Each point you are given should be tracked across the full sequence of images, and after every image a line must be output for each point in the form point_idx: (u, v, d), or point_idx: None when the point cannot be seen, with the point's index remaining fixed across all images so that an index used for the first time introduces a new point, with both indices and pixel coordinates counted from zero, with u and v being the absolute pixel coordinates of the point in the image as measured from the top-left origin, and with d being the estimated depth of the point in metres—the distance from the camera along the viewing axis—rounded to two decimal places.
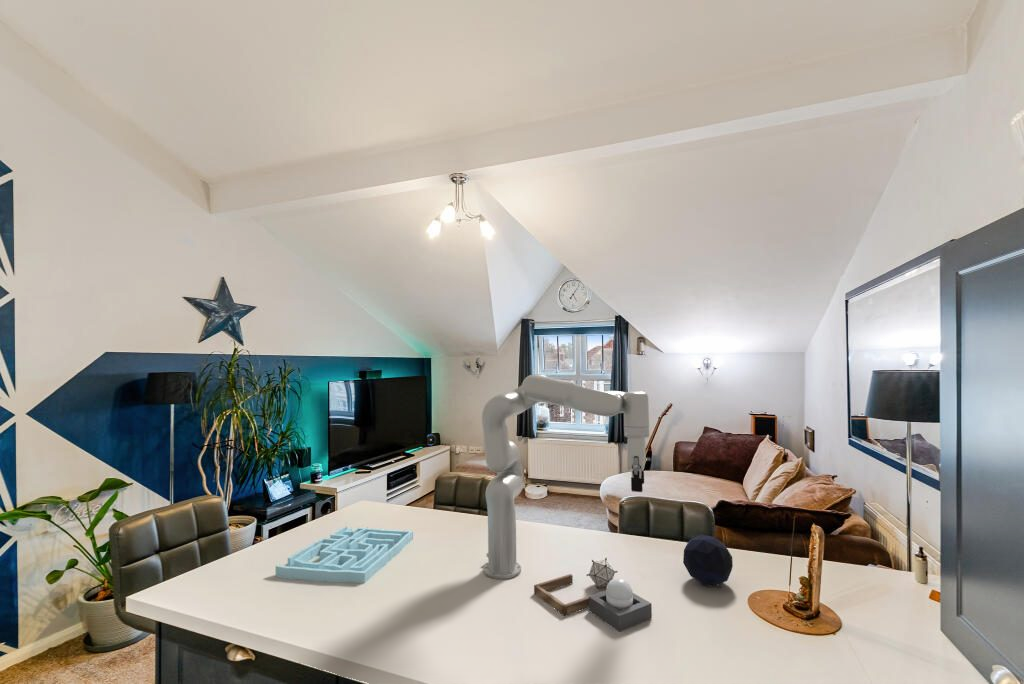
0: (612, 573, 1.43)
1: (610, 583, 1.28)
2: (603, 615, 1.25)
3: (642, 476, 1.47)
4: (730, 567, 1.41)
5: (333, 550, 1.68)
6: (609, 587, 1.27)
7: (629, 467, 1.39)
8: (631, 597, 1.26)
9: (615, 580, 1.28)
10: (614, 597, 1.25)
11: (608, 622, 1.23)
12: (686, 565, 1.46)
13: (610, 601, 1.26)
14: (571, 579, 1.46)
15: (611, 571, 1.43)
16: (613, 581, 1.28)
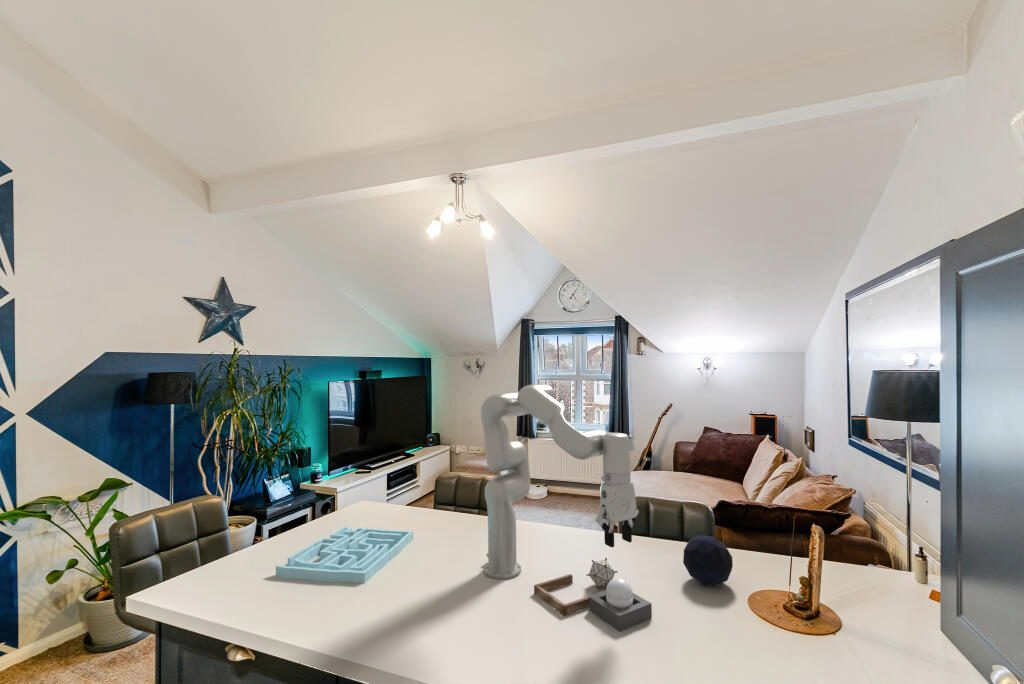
0: (612, 573, 1.43)
1: (610, 583, 1.28)
2: (603, 615, 1.25)
3: None
4: (730, 567, 1.41)
5: (333, 550, 1.68)
6: (609, 587, 1.27)
7: None
8: (631, 597, 1.26)
9: (615, 580, 1.28)
10: (614, 597, 1.25)
11: (608, 622, 1.23)
12: (686, 565, 1.46)
13: (610, 601, 1.26)
14: (571, 579, 1.46)
15: (611, 571, 1.43)
16: (613, 581, 1.28)
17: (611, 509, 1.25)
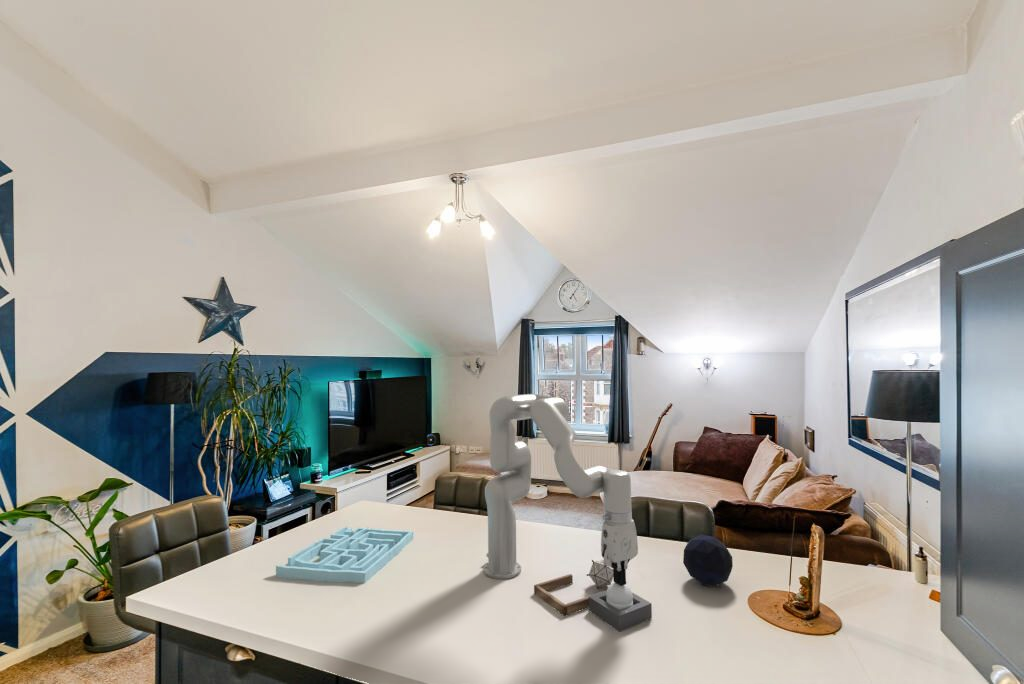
0: (612, 573, 1.43)
1: (610, 587, 1.28)
2: (603, 615, 1.25)
3: None
4: (730, 567, 1.41)
5: (333, 550, 1.68)
6: (609, 591, 1.27)
7: None
8: (631, 601, 1.26)
9: (615, 584, 1.28)
10: (614, 601, 1.25)
11: (608, 622, 1.23)
12: (686, 565, 1.46)
13: None
14: (571, 579, 1.46)
15: (611, 571, 1.43)
16: (613, 585, 1.28)
17: (612, 549, 1.24)
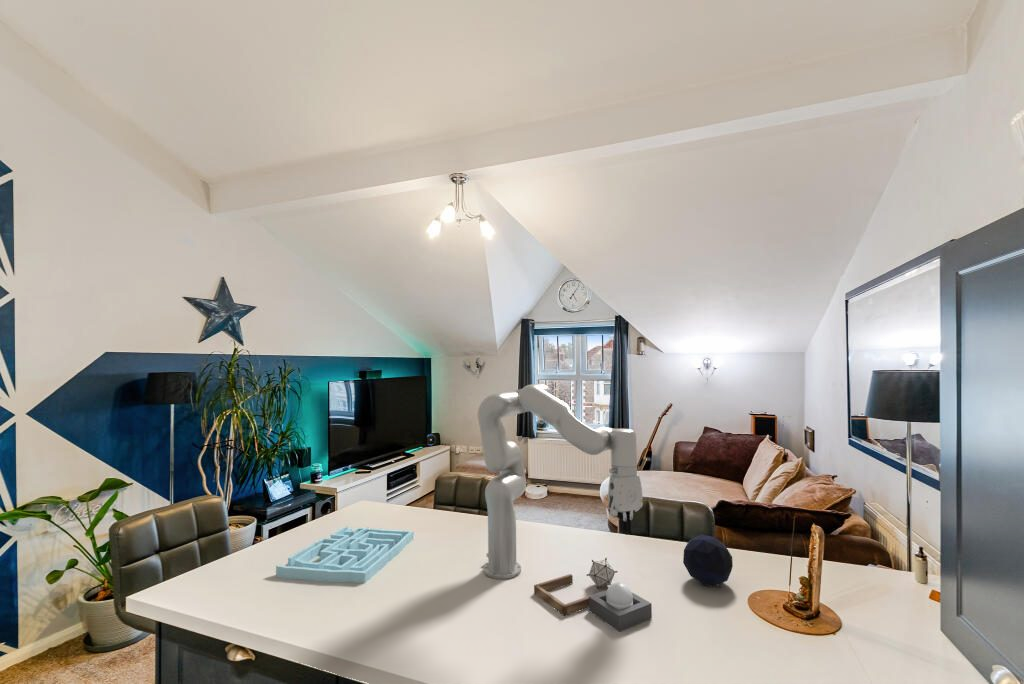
0: (612, 573, 1.43)
1: (610, 587, 1.28)
2: (603, 615, 1.25)
3: None
4: (730, 567, 1.41)
5: (333, 550, 1.68)
6: (609, 591, 1.27)
7: None
8: (631, 601, 1.26)
9: (615, 584, 1.28)
10: (614, 601, 1.25)
11: (608, 622, 1.23)
12: (686, 565, 1.46)
13: None
14: (571, 579, 1.46)
15: (611, 571, 1.43)
16: (613, 585, 1.28)
17: (618, 499, 1.34)
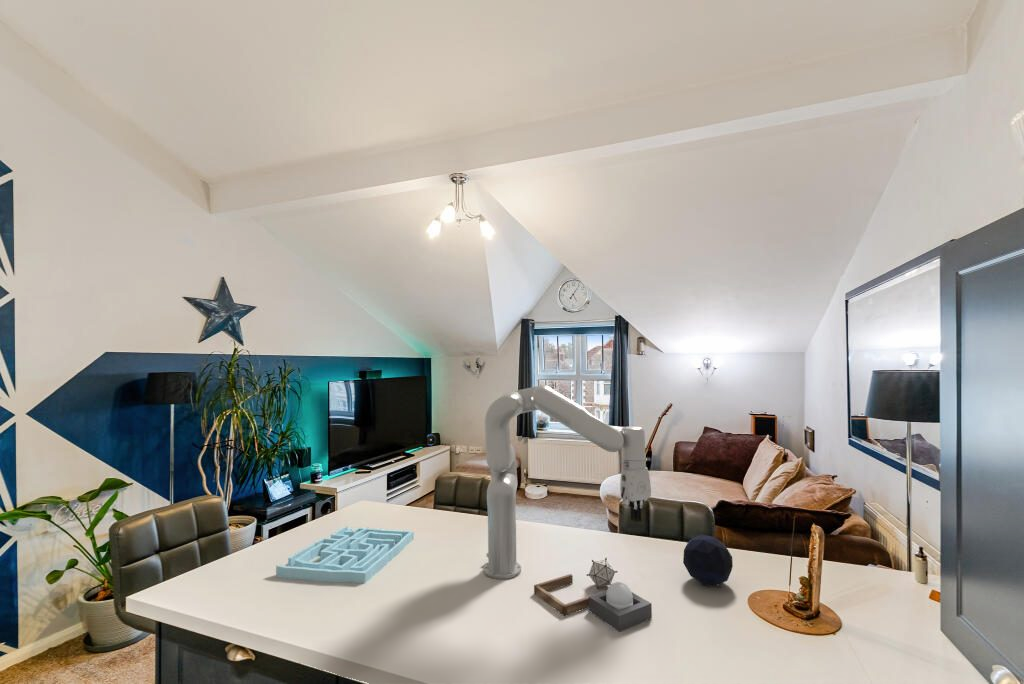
0: (612, 573, 1.43)
1: (610, 587, 1.28)
2: (603, 615, 1.25)
3: None
4: (730, 567, 1.41)
5: (334, 550, 1.68)
6: (609, 591, 1.27)
7: None
8: (631, 601, 1.26)
9: (615, 584, 1.28)
10: (614, 601, 1.25)
11: (608, 622, 1.23)
12: (686, 565, 1.46)
13: None
14: (571, 579, 1.46)
15: (611, 571, 1.43)
16: (613, 585, 1.28)
17: (630, 490, 1.49)
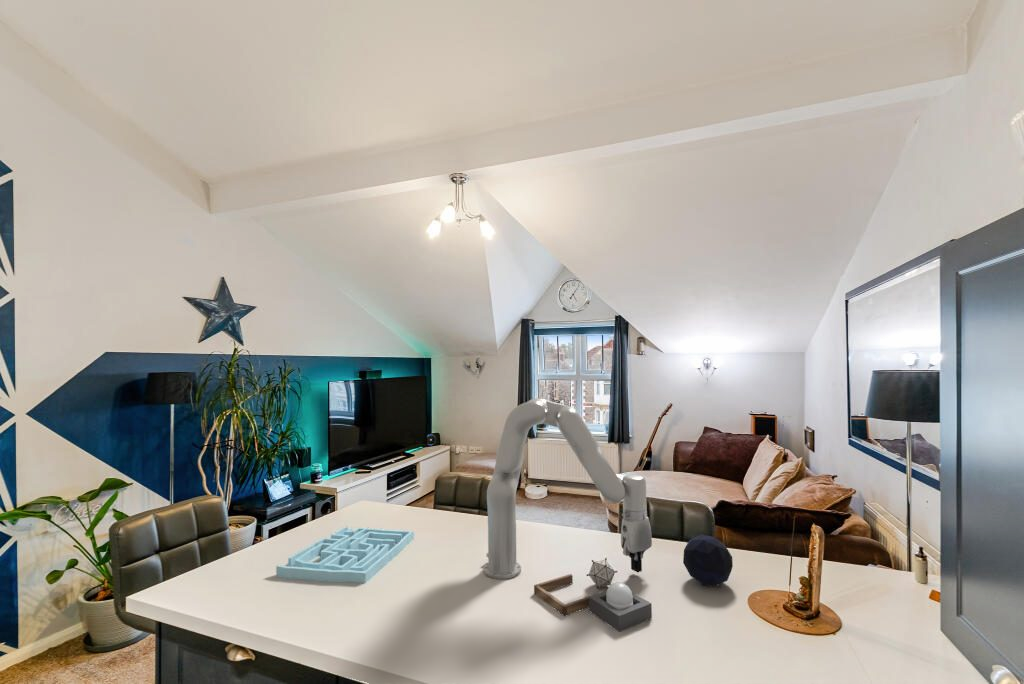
0: (612, 573, 1.43)
1: (610, 587, 1.28)
2: (603, 615, 1.25)
3: None
4: (730, 567, 1.41)
5: (334, 550, 1.68)
6: (609, 591, 1.27)
7: None
8: (631, 601, 1.26)
9: (615, 584, 1.28)
10: (614, 601, 1.25)
11: (608, 622, 1.23)
12: (686, 565, 1.46)
13: None
14: (571, 579, 1.46)
15: (611, 571, 1.43)
16: (613, 585, 1.28)
17: (631, 541, 1.48)
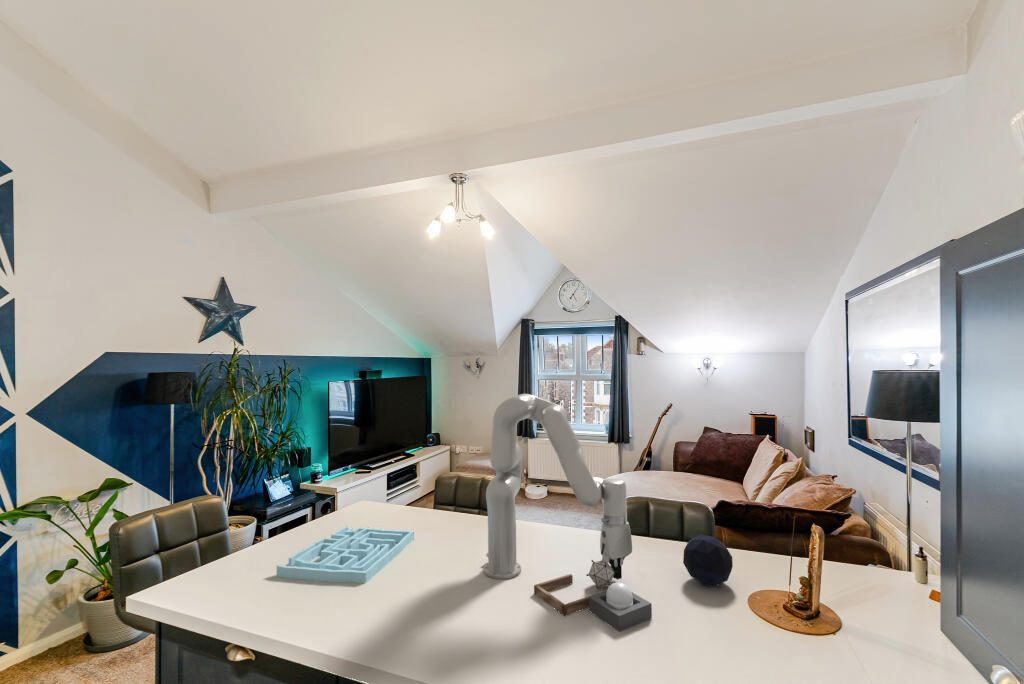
0: (612, 573, 1.43)
1: (610, 587, 1.28)
2: (603, 615, 1.25)
3: None
4: (730, 567, 1.41)
5: (334, 550, 1.68)
6: (609, 591, 1.27)
7: None
8: (631, 601, 1.26)
9: (615, 584, 1.28)
10: (614, 601, 1.25)
11: (608, 622, 1.23)
12: (686, 565, 1.46)
13: None
14: (571, 579, 1.46)
15: (611, 571, 1.43)
16: (613, 585, 1.28)
17: (610, 548, 1.43)
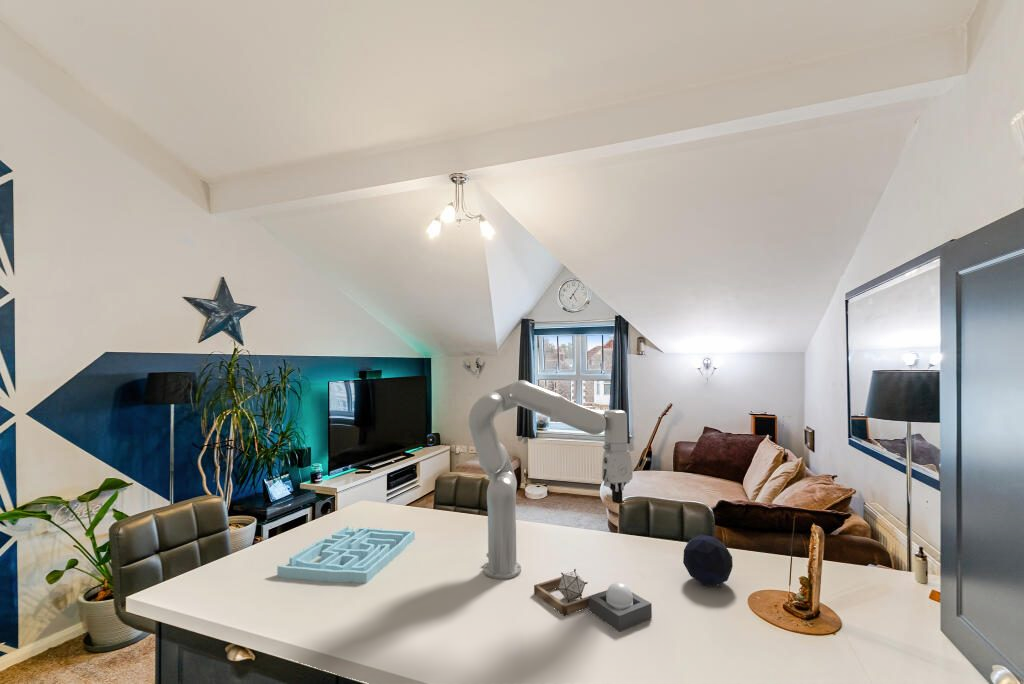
0: (583, 585, 1.35)
1: (610, 587, 1.28)
2: (603, 615, 1.25)
3: None
4: (730, 567, 1.41)
5: (335, 550, 1.68)
6: (609, 591, 1.27)
7: None
8: (631, 601, 1.26)
9: (615, 584, 1.28)
10: (614, 601, 1.25)
11: (608, 622, 1.23)
12: (686, 565, 1.46)
13: None
14: None
15: (582, 583, 1.35)
16: (613, 585, 1.28)
17: (611, 472, 1.50)
